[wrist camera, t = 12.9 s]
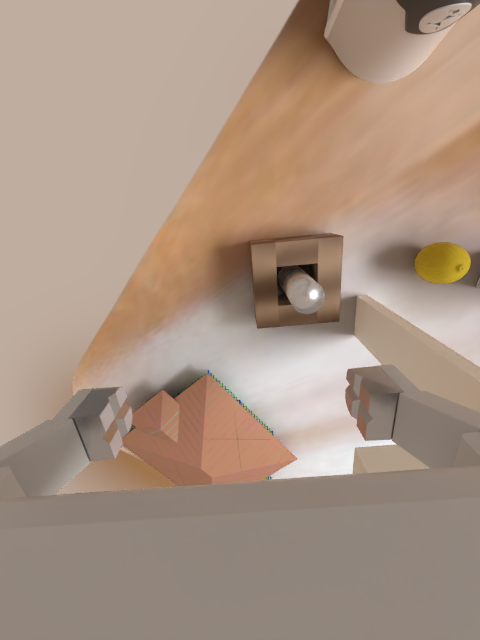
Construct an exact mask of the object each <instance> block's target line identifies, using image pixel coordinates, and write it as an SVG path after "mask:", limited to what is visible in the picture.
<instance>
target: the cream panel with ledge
mask: <svg viewBox="0 0 480 640" xmlns="http://www.w3.org/2000/svg"><path fill="white" fill-rule="evenodd" d="M354 336H355V337H356V338H357V339H358V340H359V341H360V342H361V343H362V344H363V345H364V346H365V347H366V348H367V349H368V350H369V351H370V352H371V353H372V355H373V356H374V357H375V358H376V359H377V360H378V361H379V362H380V363H381V364H382V365H389V364H391V365H394V366H395V367H396V368H397V369H399V370H400V371H401V372H402V373H403V374H404V375H405V376H406V377H407V378H408V379H409V380H410V381H411V382H412V383H413V384H414V385H415V386H416V387H417V388H418V389H419V390H420V391H427V392H430V393H432V394H435V395H437V396H440V397H442V398H445V399H447V400H450V401H452V402H455V403H457V404H460V405H462V406H465V407H467V408H470V409H472V410H475V411H477V412H480V367H478V366H477V365H475V364H474V363H472V362H470V361H469V360H467V359H466V358H464V357H463V356H461V355H459V354H458V353H456V352H455V351H453V350H452V349H450V348H449V347H447V346H445V345H444V344H442V343H441V342H439V341H438V340H436V339H435V338H433V337H431V336H430V335H428V334H427V333H425V332H424V331H422V330H420V329H419V328H417V327H416V326H414V325H413V324H411V323H410V322H408V321H406V320H405V319H403V318H402V317H400V316H399V315H397V314H395V313H394V312H392V311H391V310H389V309H388V308H386V307H385V306H383V305H381V304H380V303H378V302H377V301H375V300H374V299H372V298H371V297H369V296H367V295H359V296H357V302H356V316H355V330H354ZM418 469H430V468H429V467H427V466H426V465H425V464H423V463H422V462H421V461H419V460H418V459H417V458H415V457H414V456H412V455H411V454H410V453H408V452H407V451H406V450H404V449H403V448H401V447H400V446H399V445H385V446H372V447H358V448H355V453H354V464H353V474H362V473H377V472H391V471H404V470H418Z"/></svg>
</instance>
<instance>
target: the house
mask: <svg viewBox="0 0 480 640" xmlns="http://www.w3.org/2000/svg"><path fill="white" fill-rule="evenodd" d="M205 374H206V373H205ZM211 375H212V373H211ZM213 378H214V375H213ZM213 378H212V377H211V376H210V375H209V371H208V373H207V374H206V375H204V376H203V377H202V376H201V378H200V379H199V378H198V381H197V382H196V381H195V383H194V384H193V383H192V384H193V385H191V386H190V387H188V388H187V389H185V391H182V393H181V392H180V394H179V393H178V394H177V396H176V397H175V398H172V397H171V396H170V395H169V394H168V393H166V392H165V391H164V390H162V391H160V392H159V393H158V394H157V395H155V396H154V397H153V398H151V399H150V400H149V401H148V402H146V403H145V404H144V405H142V406H141V407H140V408H139V409H137V410H136V411H135V412H133V413H132V417H133V419H132V425H133V426H135V427H136V428H134V429H133V428H132V430H130V431H129V433H128V434H127V435H125V436H124V437H123V438H122V441H123V445H124V446H125V447H127V448H128V449H129V450H131V451H132V452H133V453H135V454H136V455H137V456H139V457H140V458H141V459H143V460H144V461H146V462H147V463H148V464H150V465H151V466H152V467H154V468H155V469H156V470H158V471H159V472H160V473H162V474H163V475H165V476H166V477H167V478H168V479H170V480H171V481H173V482H174V483H175V484H177V485H178V486H190V485H204V484H218V483H232V482H246V481H260V480H267V477H268V480H269V475H271V474H273V473H275V472H276V471H278V470H280V469H281V468H283V467H285V466H286V465H288V464H290V463H292V462H293V461H295V460H297V458H296V457H295V456H294V455H293V454H292V453H291V452H290V451H289V450H288V449H287V448H286V447H285V446H284V445H282V444H281V443H280V442H279V441H278V440H277V439H276V438H275V437H274V436H273V431H272V434H271V432H269V431H268V426H267V429H266V428H265V427H264V426H265V424H264V426H263V422H262V425H261V424H260V419H259V422H258V420H256V419H255V414H254V417H253V416H252V411H251V414H250V413H249V412H248V411H247V406H246V409H245V408H244V404H243V406H241V400H239V403H238V402H237V401H236V400H235V399H234V398H233V397H232V396H231V395H230V394H229V389H228V392H227V391H226V386H225V389H224V388H223V384H222V386H220V381H219V384H218V383H217V378H216V381H215V380H214V379H213ZM231 393H232V392H231ZM269 430H270V429H269ZM270 479H271V477H270Z"/></svg>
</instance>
